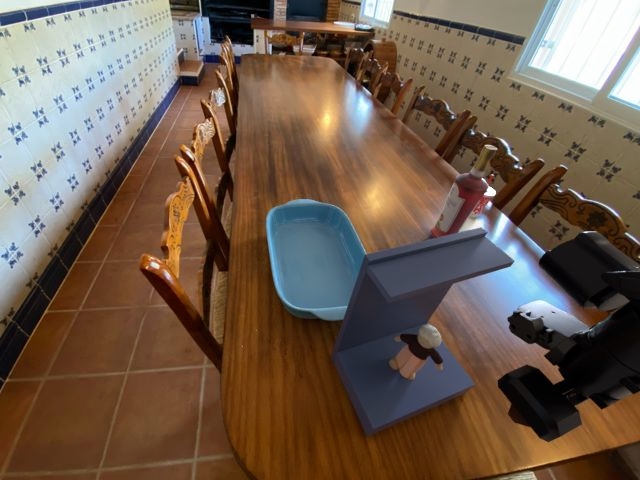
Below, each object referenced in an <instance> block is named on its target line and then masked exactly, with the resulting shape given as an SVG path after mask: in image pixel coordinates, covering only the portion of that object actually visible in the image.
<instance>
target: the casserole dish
mask: <svg viewBox="0 0 640 480" xmlns="http://www.w3.org/2000/svg"><path fill="white" fill-rule="evenodd" d="M265 217H266V218H265V231H266V238H267V246H268V247H267V248H268V254H269V261H270V268H271V269H270V270H271V275H272V280H273V285H274V289H275V291H276V294H277V296H278V297H279V299H280V301H281V303H282V306H284V308H285V309H286V311H287V312H289V314H290V315H292V316H294V317H296V318H299V319H303V320H304V319H306V320H316V319H321V320H322V321H326V322H335V321H336V322H337V321H343V319H344V316H345V313H346V310H347V307H348V304H349V301H350V298H351V295H352V292H353V289H354V286H355V283H356V280H357V277H358V274H359V271H360V268H361V265H362V262H363V259H364V256H365V254H368V253H367V251H366V250H365V247H364V245H363V243H362V241H361V239H360V237H359V235H358V233H357V231H356V229H355V227H354V225H353V223H352V221H351V220H350V217H349V216H348V214H347V213H346V212H345V211H344V210H343V209H341V208H340V207H338V206H336V205H333V204H331V203H326V202H325V203H324V202H320V201H317V200H314V199H307V198H301V199H291V200H290V201H288V202H286V203H284V204H281V205H277V206H274V207H272V208H271V209H270V210H269V211H268V212H267V214H266V216H265Z"/></svg>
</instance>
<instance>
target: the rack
mask: <svg viewBox="0 0 640 480" xmlns="http://www.w3.org/2000/svg"><path fill="white" fill-rule="evenodd" d="M487 234H488V231H487V230H486V229H484V228H483V227H482V226H480V227H477V228H472V229H467V230H464V231H459V233H455V234H450V235H446V236H442V237H438V238H434V237H433V238H429V239H426V240H421V241H420V240H419V241H417V242H411V243H408V244H404V245H400V246H395V247H391V248H386V249H382V250H377V251H374V252H369V253H367V254H365V256H364V259H363V262H362V265H361V268H360V271H359V274H358V277H357V280H356V283H355V286H354V289H353V292H352V295H351V298H350V301H349V304H348V307H347V310H346V313H345V316H344V319H343V320H342V322H341V325H340V328H339V331H338V333H337V336H336V340H335V343H334V345H333V348H332V352H331V355H330V358H331V360H332V362H333V364H334V367H335V369H336V371H337V373H338V375H339V378H340V380H341V383H342V385H343V387H344V389H345V390H346V393H347V396H348V398H349V400H350V402H351V405H352V406H353V409H354V411H355V414H356V416H357V418H358V420H359V422H360V424H361V426H362V429H363V431H364V433H365V435H366V437H367V438H369V437H371V436H373V435H376V434H377V433H380V432H382V431H384V430H387V429H389V428H391V427H393V426H395V425H398V424H400V423H403V422H405V421H407V420H409V419H411V418H414V417H416V416H418V415H421V414H423V413H425V412H427V411H430V410H432V409H434V408H436V407H438V406H441V405H443V404H445V403H447V402H449V401H451V400H454V399H456V398H458V397H461V396H463V395H465V394H466V393H468V392H469V390H472V388H473V387H474V386H476V383H475V382H474V381H473V379H472V378H471V376H470V375H469V374H468V373H467V371H466V370H465V369H464V368H463V365H461V364H460V362H459V361H458V360H457V358H456V357H455V356H454V354H453V353H452V352H451V351H450V349H449V348H448V346H447V345H446V344H445V343H444V341H443V340H442V339H441V344H440V346H438V347H434V349H436V350H437V351H438V353H439V354H440V356H441V357H442V359H443V363H442V367H443V369H442V370H441V371H439V370H437V369H436V367H435V363H434V361H433V360H432V359H431V357H430V356H428V359H427V361H426V363H425V364H424V365H423V367H422V368H421V369H420V370H419V371H418V372H416V373H415V378H414V379H413V380H409V379H407V378H405V377H403V376H402V375H401V373H400V369H399V370H394V369H393V368H392V367H391V366H390V364H389V361H390V359H392V358H394V357H395V356H397V354H398V353H399V352H400V350H401V349H402V348H403V347H404V346H406V345H407V343H405V342H403V341H400V342H396V341H395V339H394V337H395V336H396V335H401V334H417V335H418V334H419V328H420V327H421V326H422V325H427V324H429V325H431V324H430V323H429V321H430V320H431V317H433V315H434V313H435V312H436V310H438V307H439V306H440V304H441V303H442V302H443V300H444V299H445V297H446V295H448V293H449V291H450V290H451V288H452V287H453V285H455V284H458V283H460V282H461V283H462V282H464V281H467V280H470V279H474V278H477V277H480V276H484V275H487V274H491V273H494V272H498V271H500V270H505V269H507V268H511V267H512V265H513V264H514V263H515V259H513V258H512V257H511V256H510V255H509V254H508V253H506V252H504V251H503V250H502V249H501V248H500V247H499V246H497V245H496V244H495V243H494V242H493V241H491V240H490V239H489V238H488V237H486V236H487Z"/></svg>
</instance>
